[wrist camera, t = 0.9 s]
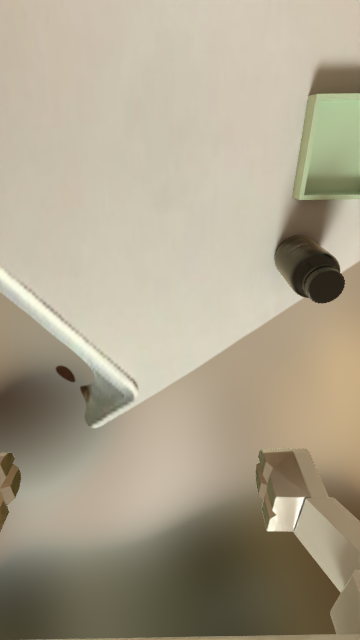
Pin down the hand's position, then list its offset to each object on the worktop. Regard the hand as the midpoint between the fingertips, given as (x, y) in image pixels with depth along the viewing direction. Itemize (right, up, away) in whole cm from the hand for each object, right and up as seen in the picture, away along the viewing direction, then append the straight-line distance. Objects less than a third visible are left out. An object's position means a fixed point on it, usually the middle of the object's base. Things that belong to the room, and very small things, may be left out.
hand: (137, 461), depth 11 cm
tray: (+23, +28, +33) cm, 49 cm away
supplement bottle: (+20, +15, +40) cm, 48 cm away
